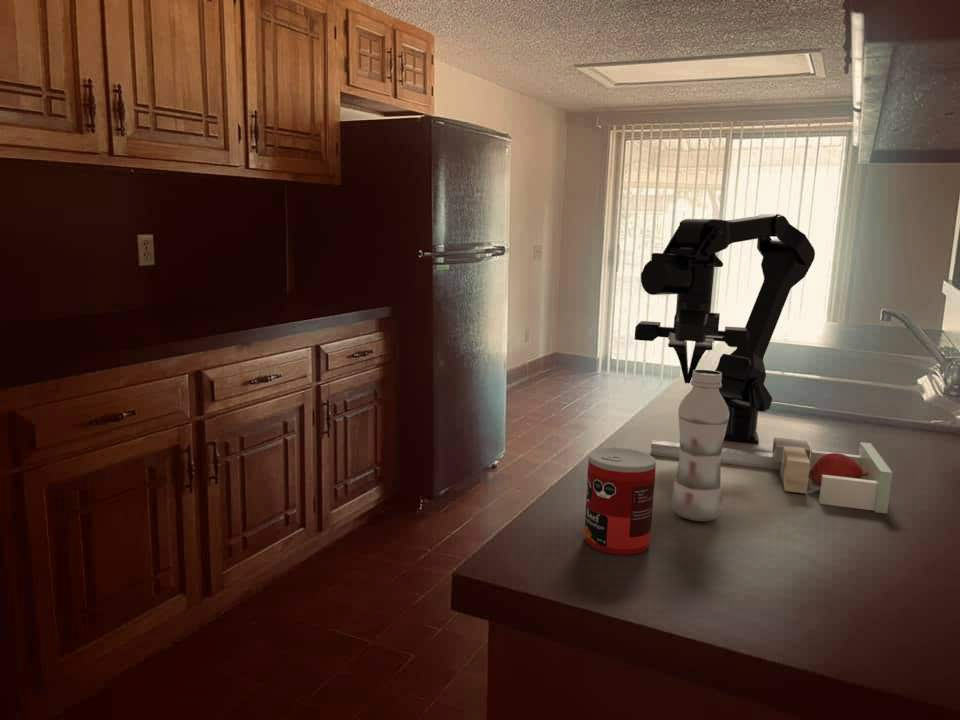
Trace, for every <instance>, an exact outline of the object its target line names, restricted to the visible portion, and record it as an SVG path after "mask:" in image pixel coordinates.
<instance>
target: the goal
mask: <svg viewBox="0 0 960 720" xmlns="http://www.w3.org/2000/svg"><path fill="white" fill-rule="evenodd" d="M810 450H811V452H810V470H809V472H810V471H811V469H812V468H813V466H814V465H815V463H816V462H817V461H818V460H819V459H820V458H821V457H822V456H824V455H826V454H831V453H833V452H831V451H824V450H823V451H822V450H814V449H810ZM858 450H859V451H858V454H849V453H839V452H838V453H839V454H843V455H846V456H848V457H850V458H851V459H853V460H854V461H855V462H856V463H857V464H858V465H859V466H860V467H862V468H863V469H864V470H866V471H867V472H868V476H864V477H861V478H860V479H856V478H848V477H839V476H830V475H822V479H821V486H820V490H819V499H818V502H819V504H820V505H827V506H834V507H841V508H842V507H843V508H849V509H851V508H852V509H858V510H859V509H860V510H867V511H874V512H875V513H879V514H886V515H887V514H888V508H889V501H890V495H891V488H892V480H893V471H892V470H891V468H890V467H889V466H888V465H887V463H886V461H885V460H884V458H882V456H881V455H880V454H879V452H878V451H877V450H876V448H875V447H874V446H873V444H872V443H871V442H864V441H863V442H862V441H861V442H860V443H859V449H858Z"/></svg>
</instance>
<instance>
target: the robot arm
mask: <svg viewBox="0 0 960 720" xmlns="http://www.w3.org/2000/svg"><path fill="white" fill-rule="evenodd" d="M772 237H776V238H774V239H772ZM751 240H757V243H756V248H757V249H756V250H757V251H758V252H759V254H760V255H761V256H762V259H761V264H760V266H761V271H762V274H763V282H762V283H761V286H760V289H759V292H758V294H757V296H756V299H755V301H754V304H753V307H752V310H751V311H750V314H749V317H748V319H747V321H746V325H745V327H740V326H724V327H725V328H724V330H719V327H720V315H721V314H720V312H711V310H712V301H713V288H714V277H715V268H722V267H724V263H723V261H722V260H721V259H720V258H719V257H718V256H717V253H719V252H721V251H724V250H726V249H727V248H728V247H729V246H730V245H732V244H733V243H735V244H736V243H741V242H746V241H751ZM815 255H816V251H815V248H814V246H813V244H812V243H811V242H810V240H809V239H808V237H807V235H806V234H805V233H803V232H802V231H801V230H799V229H798V228H796V227H795V226H793V225H792V224H790V222H789V220H788V219H787V217H785V215H782V214H780V213H762V214H759V215H757V216H755V215H754V216H747V217H741V218H735V219H728V220H725V219H717V218H685V219H683V220H681V221H679V225H678V226H677V229H676V230H675V232H674V233H673V235H672V237H671V238H670V240H669V242H668V244H667V245H666V246H665V248H664V250H663V252H662V253H661V252H653V253H651V260H649V261H648V262H647V263H646V264H645V265H644V266H643V269H642V271H641V273H640V282H641V286H642V288H643V290H644V291H645V292H646V293H647V294H649V295H651V296H655V295H656V296H657V295H659V296H660V295H664V296H665V295H677V296H676V306H675V314H674V318H673V327H672V326H661V321H647V320H640V322H638V323H637V325H635V328H634V340H636V341H645V342H646V341H648V342H653V341H655V340H656V339H657V338H667V340H668V343H667V346H668V348H673V349H674V351H675V353H676V355H677V359H678V361H679V364H680V369H681V373H682V376H683V381H684V383H685V384H691V380H692V375H693V370H697V369H696V368H697V367H698V364H699V362H700V361H701V359H702V357H703V355H704V354H705V353H706V351H713V346H714V342H724V343H725V344H726V345H727V346H728V347H730V348H736V349H735V350H734V351H732V352H731V353H730V354H728V353H722V354H721V356H720V357H719V361H718V363H717V364H718V365H717V367H716V369H715V370H714V371H718V372H721V373H722V379H721V383H722V387H721V388H719V392H720V394H721V396H722V397H723V399H724V400H725V402H726V404H727V406H728V410H729V420H728V424H727V428H726V433H725V437H724V440H725V441H726V440H727V441H734V442H735V441H736V442H743V443H753V444H759V442H760V441H759V434H758V432H757V428H758V420H759V419H758V415H759V412H763V413H764V412H766V411H767V410H769V409H771V405H772V402H773V397H772V395H771V393H770V392H769V391H768V389H767V387H766V386H765V381H766V377H767V372H766V367H765V363H764V357H765V355H766V352H767V349H768V347H769V345H770V342H771V340H772V337H773V335H774V331H775V329H776V327H777V324H778V321H779V319H780V317H781V314H782V312H783V309H784V307H785V304H786V302H787V300H788V297H789V294H790V291H791V289H792V288H793V287H795V286H796V285H797V284H798V283H800V282H801V280H803V279H804V278H805V277H806V275H807V274H808V272H809V270H810V268H811V267H812V264H813V262H814V261H815ZM687 342H694V347H693V352H692V356H691V360H690V364H688V363H689V361H688V360H689V359H688V343H687Z"/></svg>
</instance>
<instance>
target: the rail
mask: <svg viewBox="0 0 960 720" xmlns="http://www.w3.org/2000/svg"><path fill="white" fill-rule="evenodd" d="M651 441H652V442H651V446H650V455H651V456H656V457H657V456H659V457H666V458H675V459H679V453H680V442H676V441H675V442H673V441H667V440H664V441H663V440H658V439H657V440H656V439H655V440H654V439H652V440H651ZM721 464H724V465H725V464H726V465H735V466H743V467H750V468H759V469H760V468H761V469H769V470H778V471H781V464H782V462H780V461H775V459H774V455H773V452H763V451H755V450H748V449H747V450H746V449H739V448H738V449H736V448H728V447H723V448H722V453H721Z"/></svg>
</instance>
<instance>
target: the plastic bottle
mask: <svg viewBox="0 0 960 720" xmlns="http://www.w3.org/2000/svg"><path fill="white" fill-rule="evenodd" d="M721 379H722V373H721V372H718V371H715V370H713V369H703V368H702V369H695V370H693V375H692V379H691V381H690V385H691V386H692V389H691V390H690V391H689V392H688V393H687V394H686V395H685V396H684V397H683V399H682V400H681V402H680V403H679V406H678V410H677V411H678V413H677V414H678V429H679V431H678V432H679V443H680V453H679V458H678V465H677V471H676V476H675V481H674V483H673V487H672V491H671V492H672V493H671V504H672V505H671V506H672V508H673V510H674V512H675V513H676V514H677V515H678V516H679V517H681V518H684V519H686V520H690V521H694V522H711V521H713V520H715V519H717V517H718V516H719V515H720V514H721V509H722V507H723V491H722V486H721V485H722V483H721V482H722V481H721V479H722V478H721V473H722V472H721V465H722V463H721V453H722V448H724V437H725V433H726V428H727V424H728V420H729V410H728V406H727V404H726V402H725V400H724V399H723V397H722V396H721V394H720V392H719V388H721V387H722V383H721Z"/></svg>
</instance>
